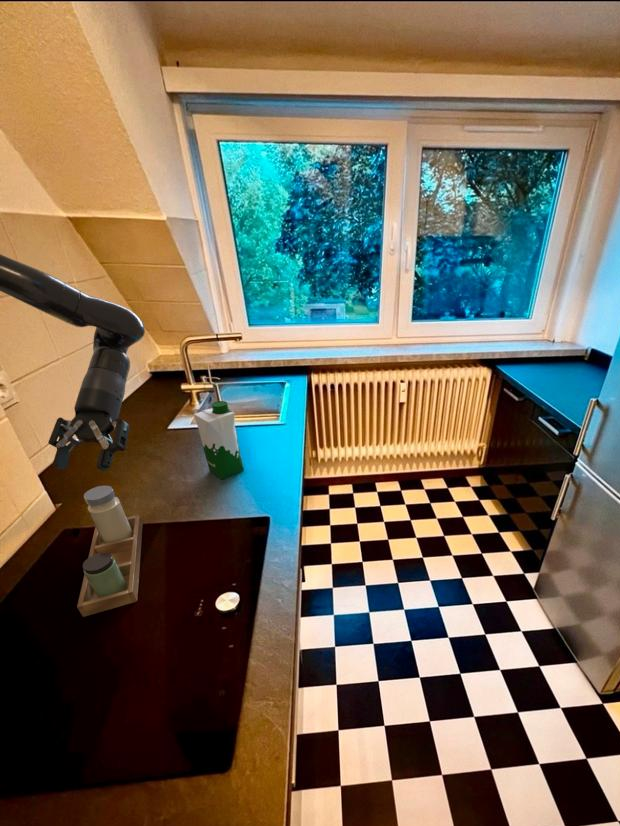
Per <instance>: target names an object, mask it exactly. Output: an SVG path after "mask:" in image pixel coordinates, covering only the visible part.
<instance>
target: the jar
mask: <svg viewBox="0 0 620 826" xmlns="http://www.w3.org/2000/svg"><path fill="white" fill-rule="evenodd" d="M83 499H84V501H85V503H86V505H88V506H87V511H88V513H89V515H90V517H91V519H92V521H93V524H94V525H95V527H97V530H98V532H99V534H100V536H101V538H102V540H103V542H104V544H106V543H110V542H114V541H118V540H122V539H126V538H131V537H133V535H134V533H133V531H132V529H131V526H130V524H129V522H128V519H127V515H126V513H125V510H124V507H123V506H122V503H121V501H120V499H119V498H118V497H117V496H116V493H115V490H114V488H113V487H112V486H110V485H98V486H96V487H93V488H90V489H89V490H87V491H86V492H84V494H83Z"/></svg>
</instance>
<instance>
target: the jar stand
mask: <svg viewBox="0 0 620 826" xmlns="http://www.w3.org/2000/svg"><path fill="white" fill-rule="evenodd" d="M126 517H127V516H126ZM127 519H128V522H129V524H130V526H131V529H132V531H133V533H134V535H133V537H131V538H126V539H122V540H118V541H114V542H110V543H106V544H104V542H103V540H102V538H101V536H100V534H99V532H98V530H97V527H96V526H95V528H94V532H93V536H92V541H91V544H90V549H89V553H88V558H89V557H91V556H93V555H95V554H98V553H109V554H111V555H112V557H113V558H114V559H115V561H116V563H117V565H118V567H119V569H120V571H121V573H122V575H123V577H124V579H125V581H126V583H127V590H126V591H123V592H119V593H116V594H112V595H109V596H105V597H101V598H98V597H97V595H96V593H95V591H94V590H93V588H92V586H91V584H90V582H89V581H88V579H87V577H86V575H85V574H84V575H83V580H82V584H81V588H80V593H79V597H78V601H77V606H76V608H77V610H78V611H79V613H80V614H81V616H82V617H83V618H85V617H88V616H91V615H95V614H98V613H102V612H105V611H108V610H112V609H115V608H119V607H122V606H125V605H129V604H132V603H136V602H138V593H139V581H140V580H139V579H140V566H141V553H142V552H141V551H142V538H143V537H142V536H143V521H142V518H141V516H140V515H139V514H136V515H132V516H128V517H127ZM88 558H87V559H88Z"/></svg>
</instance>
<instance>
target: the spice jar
mask: <svg viewBox="0 0 620 826" xmlns="http://www.w3.org/2000/svg"><path fill="white" fill-rule="evenodd" d="M88 557H89V556H88ZM82 569H83V573H84V575H86V577H87V579H88V581H89V582H90V584H91V586H92V588H93V590H94V591H95V593H96V595H97V597H98V598H101V597H105V596H109V595H112V594H116V593H119V592H123V591H126V590H127V583H126V581H125V579H124V577H123V575H122V573H121V571H120V569H119V567H118V565H117V563H116V561H115V559H114V558H113V557H112V555H111V554H109V553H98V554H95V555H93V556H91V557H89V558H86V559H85V560H84V561H83V563H82Z"/></svg>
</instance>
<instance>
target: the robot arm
mask: <svg viewBox="0 0 620 826" xmlns="http://www.w3.org/2000/svg"><path fill="white" fill-rule="evenodd" d="M0 292H1V293H4V294H5V295H8V296H10V297H12V298H14V299H16V300H18V301H20V302H22V303H24V304H26V305H28V306H31V307H32V308H35V309H36V310H39V311H41V312H43V313H45V314H47V315H49V316H51V317H54V318H56V319H58V320H60V321H62V322H64V323H66V324H68V325H71V326H74V327H76V328H86V327H95V330H94V333H93V342H92V345H93V346H92V351H93V352H92V355H91V358H90V361H89V364H88V367H87V370H86V373H85V374H84V377H83V379H82V382H81V384H80V388H79V392H78V394H77V398H76V401H75V403H74V409H73V410H74V417H73V418H72V419H65V418H63V417H58V418H56V421H55V424H54V426H53V429H52V431H51V435H50V437H49V439H48V445H50V446H51V447H54V448H55V449H56V452H55V454H54V458H53V460H52V462H53V466H54V467H55V468H56V469H59V470H66V469H67V467H68V463H69V460H70V456H71V454H72V452H71V451H72V450H73V449H74V448H76V447H78V446H81V445H82V444H84V443H92V442H94V443H99V444H100V446H101V448H102V449H100V452H99V455H98V459H97V462H96V469H98V470H100V471H102V472H107V471H108V469H109V468H110V467H111V465H112V461H113V457H114V454H116V452H124V451H126V448H127V444H128V439H129V434H130V429H131V425H129V424H128V422H126V421H125V420H123V419H121V418H119V415H120V412H121V408H122V403H123V401H124V397H125V392H126V385H127V380H128V377H129V372H130V370H131V361H130V357H128V355H127V352H128V350H129V348H131V346H133V345H135V344H137V343H138V342H139V341H141V340H142V339H143V338H144V336H145V334H146V328H145V325H144V322H143V321H142V319H141V318H140V317H139V316H138V315H137V314H136V313H134V311H132V310H130V309H129V308H127V307H125V306H123V305H121V304H117V303H114V302H111V301H108V300H105V299H103V298H100V297H96V296H93V295H88V294H87V293H85V292H83V291H81V290H79V289H78V288H76V287H74V286H72V285H70V284H68V283H66V282H65V281H63V280H60V279H59V278H57V277H55V276H53V275H51V274H49V273H47V272H44V271H43V270H40V269H37V268H35V267H33V266H30V265H28V264H25V263H22V262H20V261H18V260H15V259H13V258H10V257H8V256H6V255H3V254H1V253H0ZM112 432H113V436H112V437H113V438H112V437H111V435H110V434H111V433H112ZM74 436H75V437H74Z"/></svg>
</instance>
